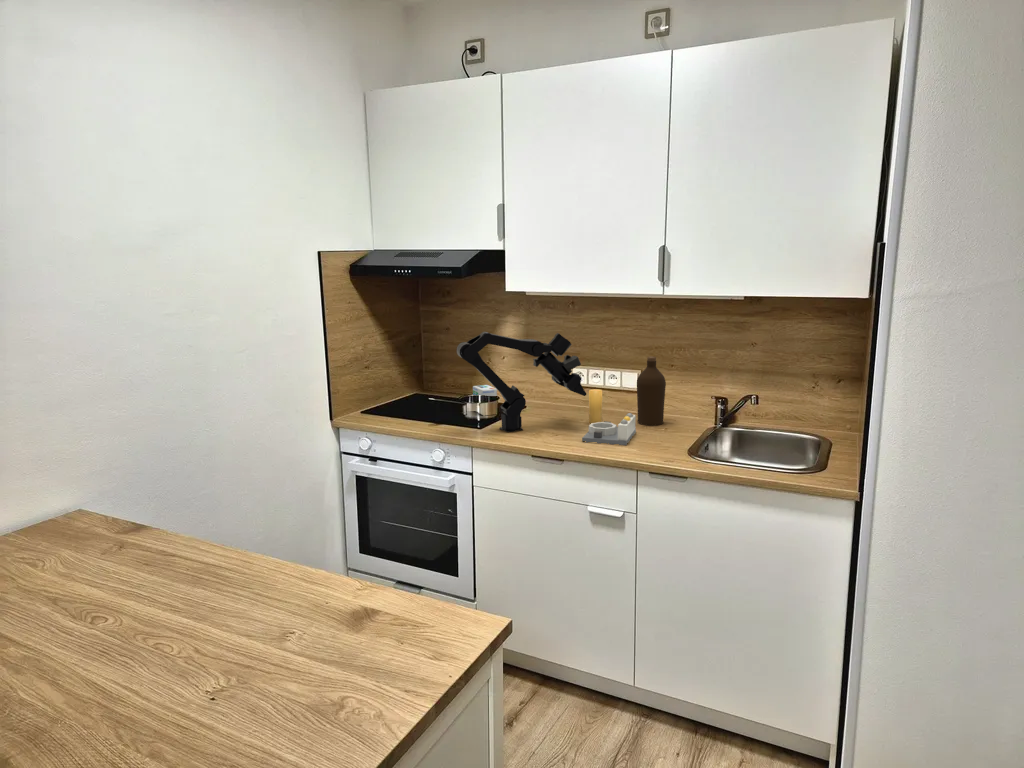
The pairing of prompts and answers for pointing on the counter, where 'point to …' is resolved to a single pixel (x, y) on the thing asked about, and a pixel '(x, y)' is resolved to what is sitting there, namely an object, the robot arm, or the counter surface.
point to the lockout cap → (595, 405)
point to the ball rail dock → (612, 431)
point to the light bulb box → (484, 390)
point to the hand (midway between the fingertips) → (581, 392)
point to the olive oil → (651, 394)
